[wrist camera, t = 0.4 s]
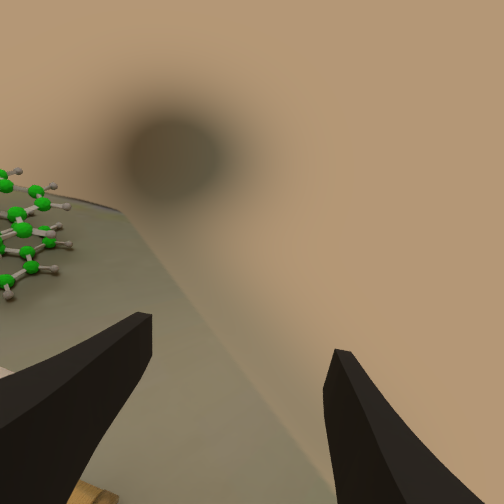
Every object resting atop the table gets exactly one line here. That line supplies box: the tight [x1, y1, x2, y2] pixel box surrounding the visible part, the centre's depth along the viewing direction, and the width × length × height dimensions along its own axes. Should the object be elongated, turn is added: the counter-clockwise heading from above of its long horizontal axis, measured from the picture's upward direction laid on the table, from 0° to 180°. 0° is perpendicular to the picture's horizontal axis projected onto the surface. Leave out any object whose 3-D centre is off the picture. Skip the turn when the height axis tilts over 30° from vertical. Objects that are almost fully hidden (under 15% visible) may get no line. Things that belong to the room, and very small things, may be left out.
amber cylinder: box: [67, 480, 119, 504], centre depth 18 cm, size 4×11×4 cm, turn 76°
